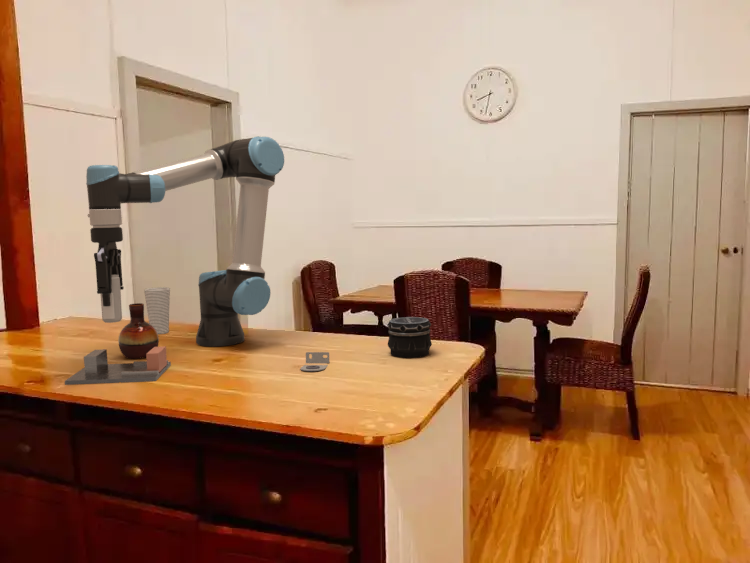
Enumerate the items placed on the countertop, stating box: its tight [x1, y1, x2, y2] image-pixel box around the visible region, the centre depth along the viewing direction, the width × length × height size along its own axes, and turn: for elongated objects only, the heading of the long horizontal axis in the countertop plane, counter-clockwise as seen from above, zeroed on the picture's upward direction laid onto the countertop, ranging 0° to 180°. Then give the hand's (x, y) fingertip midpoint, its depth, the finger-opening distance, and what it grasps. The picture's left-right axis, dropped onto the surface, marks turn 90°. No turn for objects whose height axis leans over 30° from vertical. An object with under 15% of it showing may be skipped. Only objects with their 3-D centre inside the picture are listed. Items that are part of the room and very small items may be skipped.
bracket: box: [300, 351, 330, 372], centre depth 169 cm, size 7×10×4 cm, turn 174°
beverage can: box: [100, 274, 123, 324], centre depth 163 cm, size 5×5×12 cm
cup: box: [143, 286, 171, 335], centre depth 220 cm, size 8×8×16 cm
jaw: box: [145, 346, 167, 372], centre depth 166 cm, size 3×8×5 cm, turn 5°
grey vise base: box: [64, 349, 172, 386], centre depth 165 cm, size 22×16×6 cm
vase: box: [117, 302, 160, 360], centre depth 185 cm, size 11×11×15 cm
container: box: [386, 316, 432, 359], centre depth 182 cm, size 13×13×10 cm
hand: (112, 316), depth 164 cm, fingers closed on beverage can, 5 cm apart
